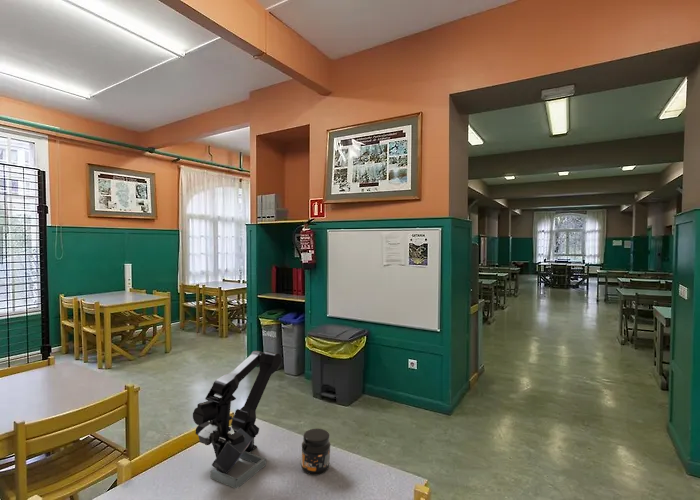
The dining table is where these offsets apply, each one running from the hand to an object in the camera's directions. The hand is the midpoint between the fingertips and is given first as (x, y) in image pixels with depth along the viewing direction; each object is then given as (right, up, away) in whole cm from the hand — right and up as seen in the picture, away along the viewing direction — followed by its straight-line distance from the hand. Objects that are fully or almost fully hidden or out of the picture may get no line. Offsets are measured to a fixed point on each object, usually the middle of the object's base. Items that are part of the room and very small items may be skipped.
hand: (217, 457), depth 131 cm
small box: (+3, -1, -1) cm, 4 cm away
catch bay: (+9, -3, -4) cm, 10 cm away
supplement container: (+35, -4, +1) cm, 36 cm away
